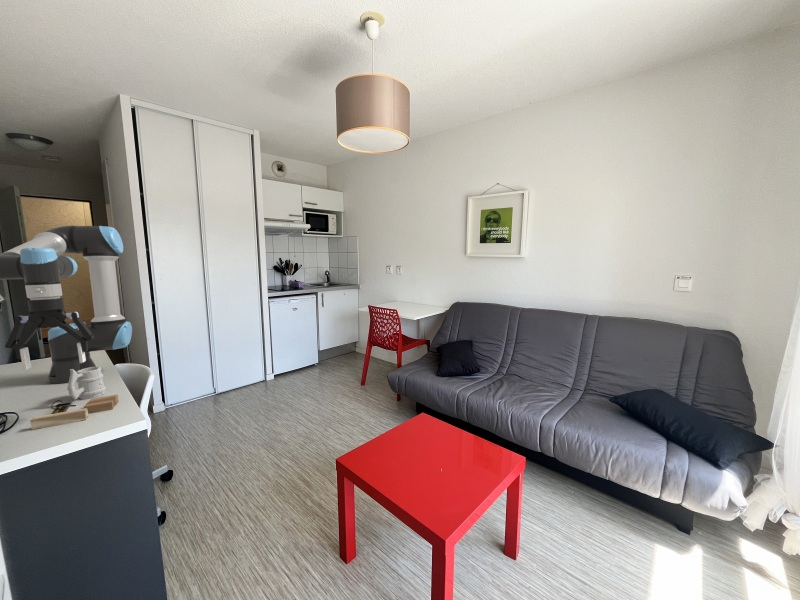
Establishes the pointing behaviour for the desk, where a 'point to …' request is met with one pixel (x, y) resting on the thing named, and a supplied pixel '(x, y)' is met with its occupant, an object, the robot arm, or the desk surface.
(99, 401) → the slab
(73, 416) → the rail
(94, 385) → the mug
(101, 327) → the robot arm
